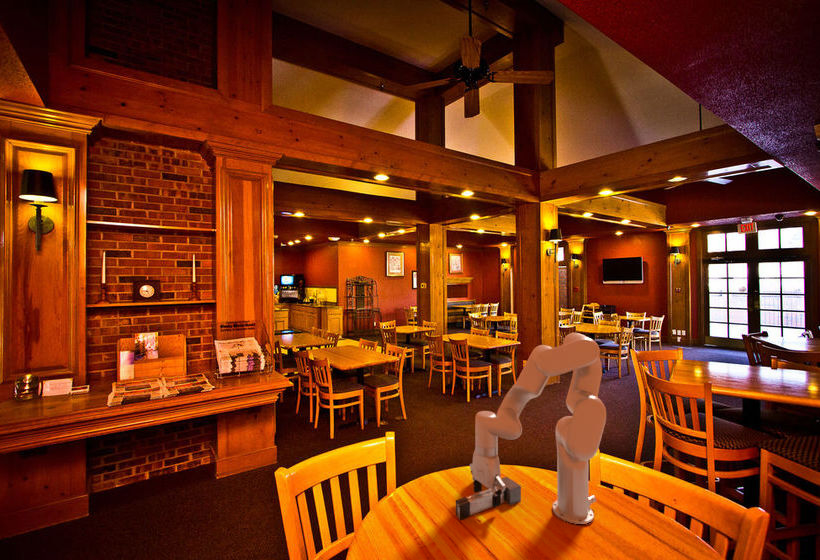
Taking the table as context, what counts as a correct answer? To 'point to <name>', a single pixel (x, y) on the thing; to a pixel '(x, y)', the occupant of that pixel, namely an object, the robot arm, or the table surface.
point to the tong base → (510, 493)
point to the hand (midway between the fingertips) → (486, 498)
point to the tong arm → (476, 505)
